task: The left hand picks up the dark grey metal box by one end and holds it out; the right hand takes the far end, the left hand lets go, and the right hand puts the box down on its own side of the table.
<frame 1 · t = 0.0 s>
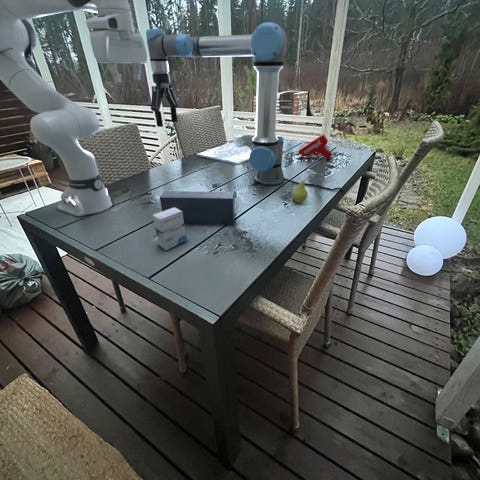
left hand: (128, 80, 84), 48 cm above the table, tool pointing down, fingers open, 8 cm apart
right hand: (167, 124, 132), 28 cm above the table, tool pointing down, fingers open, 13 cm apart
box: (200, 221, 107), on the table
toy gun: (314, 158, 178), on the table
ink box: (172, 243, 94), on the table
fruit: (299, 202, 122), on the table
relief map: (229, 155, 186), on the table
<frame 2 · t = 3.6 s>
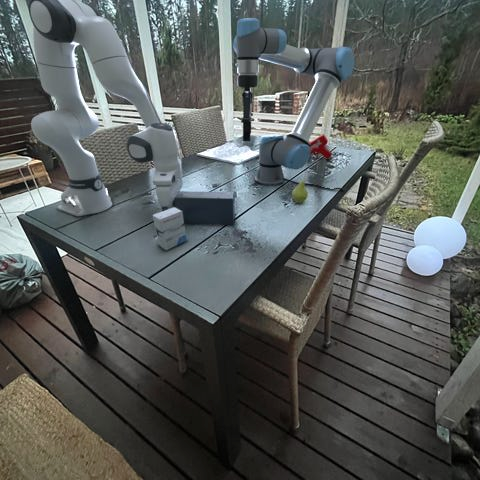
left hand: (174, 207, 105), 6 cm above the table, tool pointing down, fingers closed on box, 6 cm apart
right hand: (247, 137, 108), 28 cm above the table, tool pointing down, fingers open, 13 cm apart
box: (200, 221, 107), on the table, touching left hand
everything else where it was.
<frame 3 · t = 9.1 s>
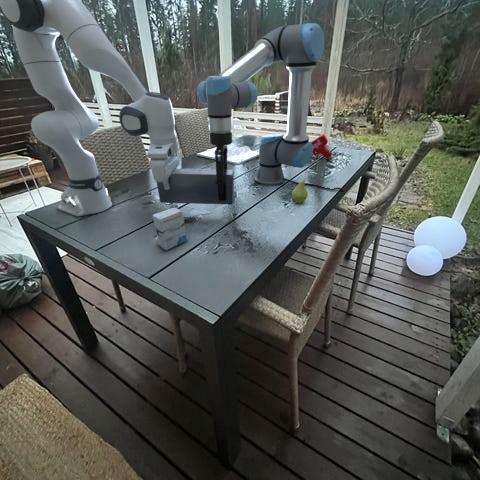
left hand: (170, 185, 100), 15 cm above the table, tool pointing down, fingers closed on box, 6 cm apart
right hand: (223, 196, 101), 11 cm above the table, tool pointing down, fingers closed on box, 6 cm apart
box: (197, 200, 103), point 9 cm above the table, touching right hand, left hand
everything else where it was.
when the left hand's fingers open (15 cm above the table, at t = 10.0 s): box stays where it is, held by the right hand.
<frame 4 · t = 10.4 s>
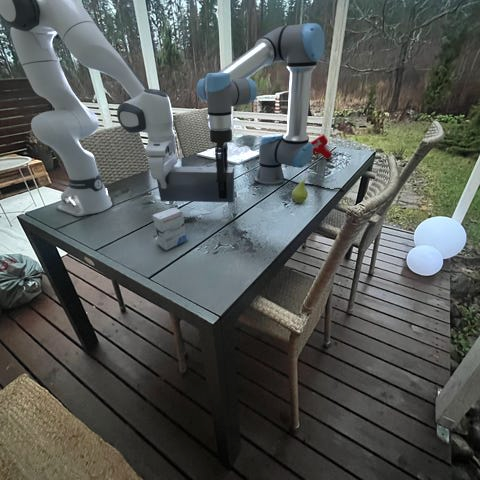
left hand: (168, 182, 100), 16 cm above the table, tool pointing down, fingers open, 8 cm apart
right hand: (223, 194, 101), 11 cm above the table, tool pointing down, fingers closed on box, 6 cm apart
box: (198, 198, 102), point 10 cm above the table, touching right hand
everything else where it was.
when the right hand's fingers open (3 cm above the table, at t = 18.5 s): box drops 1 cm, on the table.
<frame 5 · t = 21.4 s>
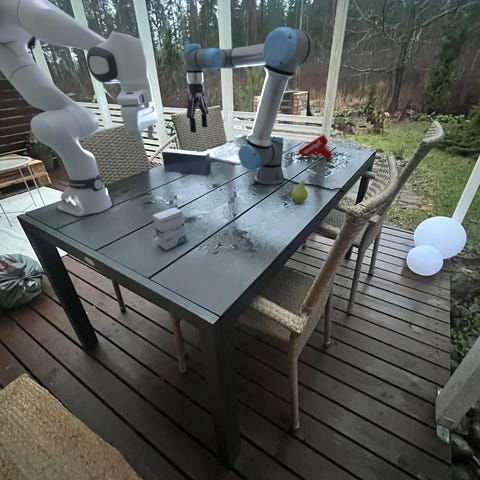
left hand: (146, 141, 92), 30 cm above the table, tool pointing down, fingers open, 8 cm apart
right hand: (199, 129, 143), 23 cm above the table, tool pointing down, fingers open, 13 cm apart
box: (187, 171, 158), on the table
everything else where it was.
at the end: box inside the target area (9.8 cm from its centre), on the table; the left hand is holding nothing; the right hand is holding nothing; box at rest at the end (0.0 cm/s) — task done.
